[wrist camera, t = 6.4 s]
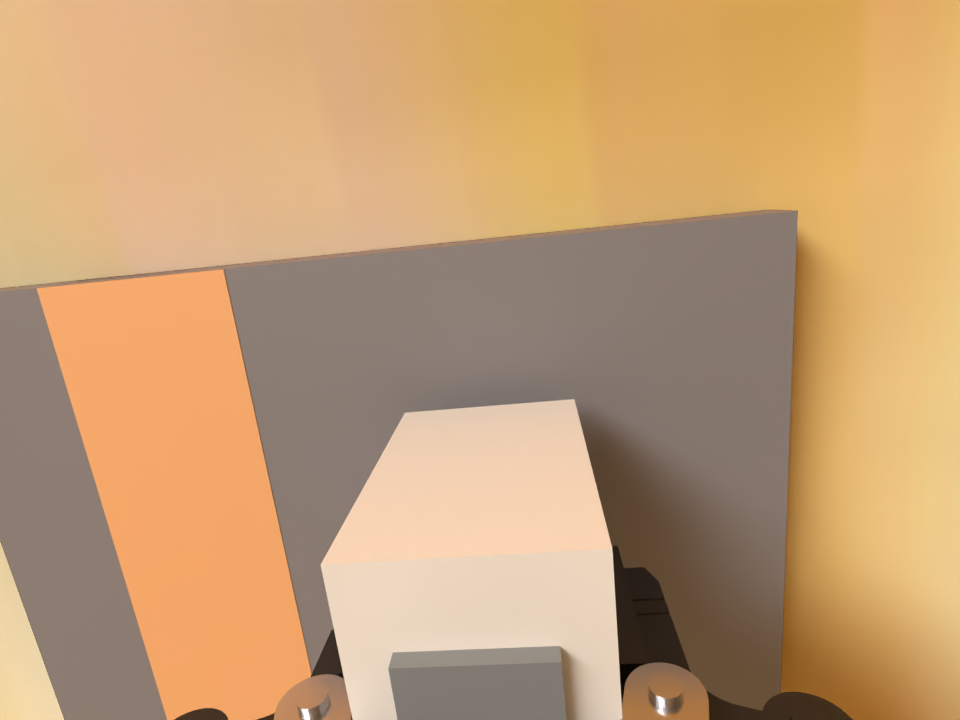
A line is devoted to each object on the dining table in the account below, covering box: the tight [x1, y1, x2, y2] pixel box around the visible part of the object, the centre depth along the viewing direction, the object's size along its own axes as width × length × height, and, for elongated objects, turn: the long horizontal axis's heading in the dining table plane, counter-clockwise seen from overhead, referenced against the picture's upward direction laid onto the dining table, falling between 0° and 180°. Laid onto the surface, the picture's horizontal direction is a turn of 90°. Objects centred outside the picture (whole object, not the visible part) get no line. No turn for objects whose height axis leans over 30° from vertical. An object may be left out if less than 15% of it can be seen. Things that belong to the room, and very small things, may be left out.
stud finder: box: [321, 399, 622, 720], centre depth 12 cm, size 4×8×6 cm, turn 6°
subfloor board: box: [0, 210, 798, 720], centre depth 17 cm, size 22×15×2 cm
